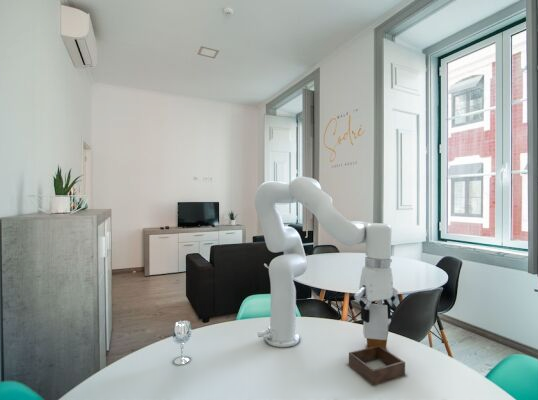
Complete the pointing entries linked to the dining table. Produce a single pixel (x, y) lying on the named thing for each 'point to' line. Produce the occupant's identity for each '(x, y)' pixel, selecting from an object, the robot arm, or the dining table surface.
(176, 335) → the wineglass
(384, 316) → the white food carton
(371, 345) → the disposable coffee cup
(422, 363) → the dining table surface
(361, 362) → the crate
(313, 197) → the robot arm
